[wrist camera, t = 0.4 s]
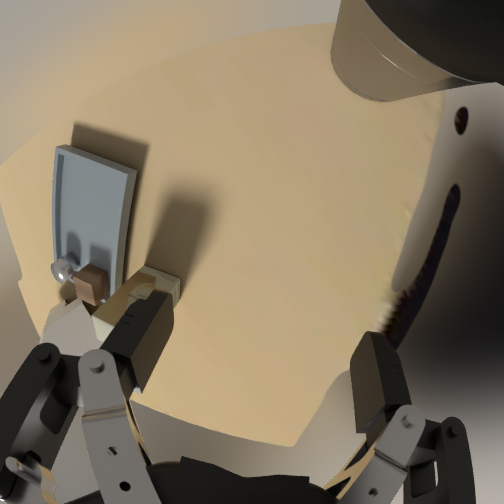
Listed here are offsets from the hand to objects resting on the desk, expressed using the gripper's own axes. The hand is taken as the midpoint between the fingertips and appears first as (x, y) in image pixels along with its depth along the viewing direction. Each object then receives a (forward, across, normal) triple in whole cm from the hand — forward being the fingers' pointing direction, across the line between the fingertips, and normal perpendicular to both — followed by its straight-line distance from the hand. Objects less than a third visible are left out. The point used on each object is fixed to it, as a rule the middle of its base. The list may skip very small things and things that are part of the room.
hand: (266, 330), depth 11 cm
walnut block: (+20, +25, +18) cm, 37 cm away
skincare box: (+21, +14, +16) cm, 30 cm away
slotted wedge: (+23, +35, +34) cm, 54 cm away
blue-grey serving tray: (+22, +26, +10) cm, 36 cm away
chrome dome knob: (+20, +31, +16) cm, 41 cm away
